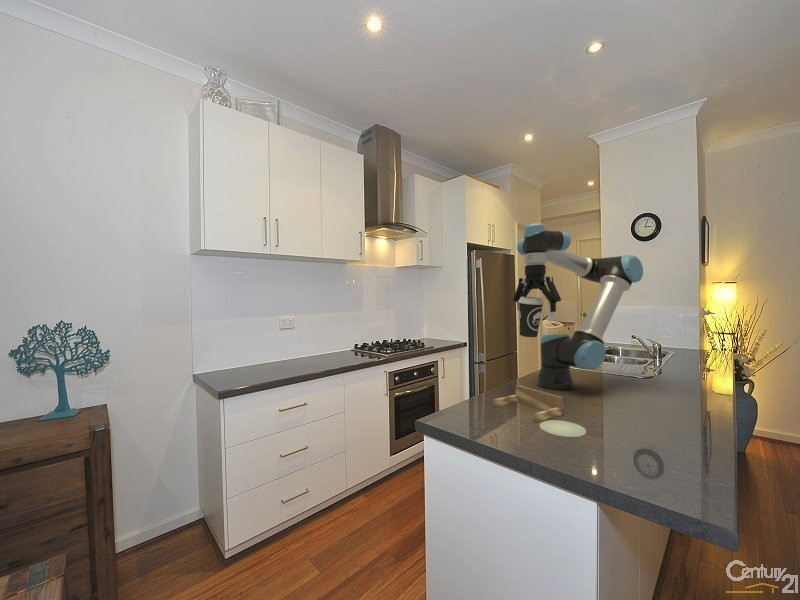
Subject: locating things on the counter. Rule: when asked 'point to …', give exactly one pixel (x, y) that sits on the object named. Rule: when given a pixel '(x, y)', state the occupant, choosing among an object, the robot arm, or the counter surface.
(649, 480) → the counter surface
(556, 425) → the coaster
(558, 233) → the robot arm
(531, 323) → the coffee cup
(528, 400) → the shelf bay
